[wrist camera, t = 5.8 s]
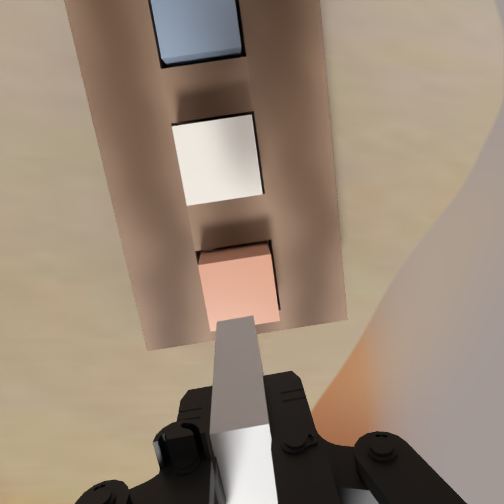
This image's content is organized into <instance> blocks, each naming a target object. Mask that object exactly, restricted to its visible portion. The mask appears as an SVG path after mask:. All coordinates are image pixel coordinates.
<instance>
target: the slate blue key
mask: <svg viewBox="0 0 504 504" xmlns="http://www.w3.org/2000/svg"><path fill="white" fill-rule="evenodd" d="M151 5H152V10H153V15H154V21H155V26H156V32H157V37H158V42H159V48H160V53H161V58H162V60H163V61H164V62H165V63H166V65H167V66H168V67H169V68H172V67H178V66H185V65H192V64H199V63H206V62H212V61H219V60H226V59H233V58H240V53H241V41H240V34H239V27H238V19H237V12H236V5H235V0H151Z"/></svg>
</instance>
